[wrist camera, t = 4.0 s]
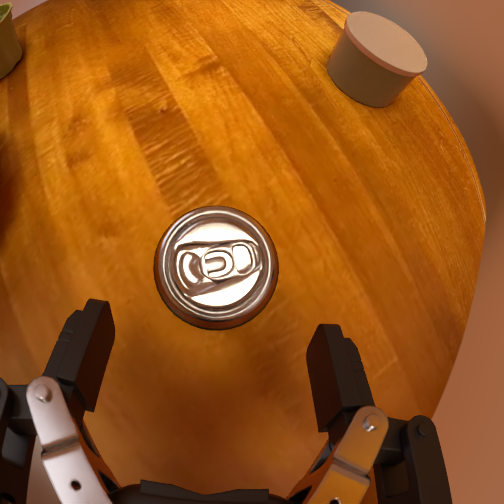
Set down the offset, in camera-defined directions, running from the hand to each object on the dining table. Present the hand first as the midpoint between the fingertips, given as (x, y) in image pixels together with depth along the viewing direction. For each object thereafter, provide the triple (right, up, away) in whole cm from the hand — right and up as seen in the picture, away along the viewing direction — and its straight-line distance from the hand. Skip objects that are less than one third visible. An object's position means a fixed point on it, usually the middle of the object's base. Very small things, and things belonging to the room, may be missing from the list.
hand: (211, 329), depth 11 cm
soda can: (-1, +1, +12) cm, 12 cm away
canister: (+14, +23, +18) cm, 32 cm away
